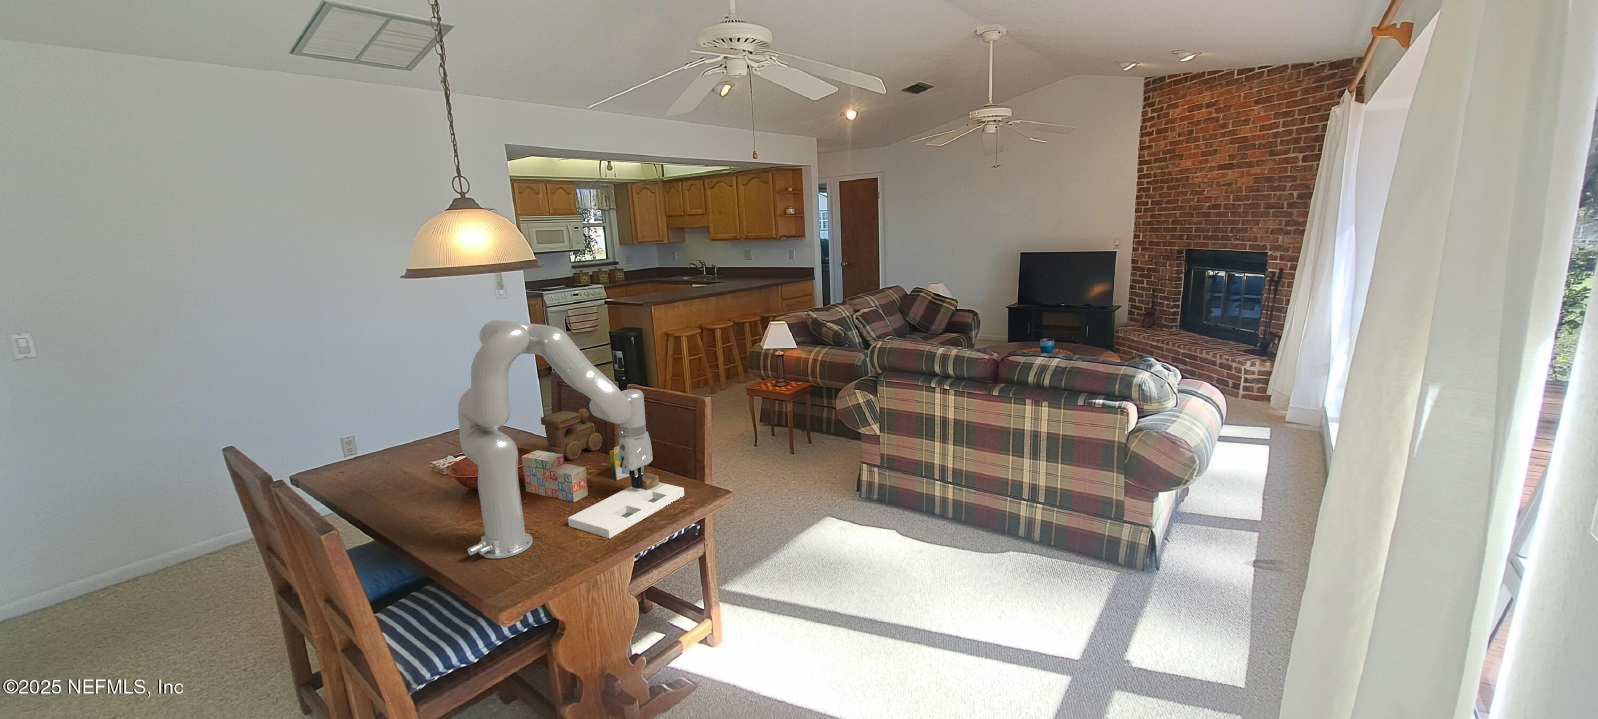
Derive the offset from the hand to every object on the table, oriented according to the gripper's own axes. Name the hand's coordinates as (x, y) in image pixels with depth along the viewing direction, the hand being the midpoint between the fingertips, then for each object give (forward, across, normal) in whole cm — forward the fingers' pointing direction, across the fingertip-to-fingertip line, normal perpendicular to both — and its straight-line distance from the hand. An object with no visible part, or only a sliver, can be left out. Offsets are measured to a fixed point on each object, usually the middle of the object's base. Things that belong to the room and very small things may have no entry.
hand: (637, 487), depth 193 cm
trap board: (+4, -7, -4) cm, 9 cm away
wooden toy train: (+4, +19, +50) cm, 54 cm away
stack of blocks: (+4, -9, +27) cm, 28 cm away
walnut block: (+1, +4, 0) cm, 4 cm away
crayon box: (+4, +11, +18) cm, 21 cm away
